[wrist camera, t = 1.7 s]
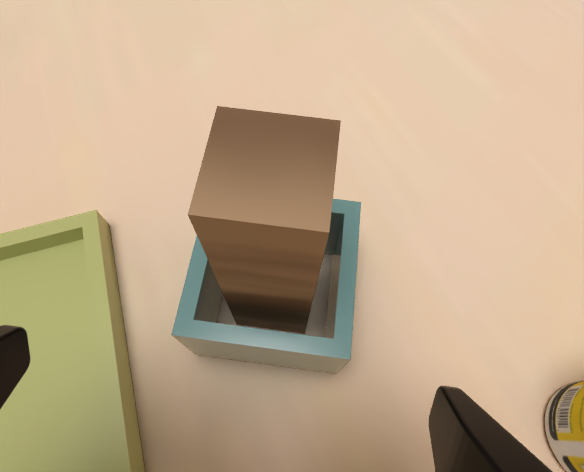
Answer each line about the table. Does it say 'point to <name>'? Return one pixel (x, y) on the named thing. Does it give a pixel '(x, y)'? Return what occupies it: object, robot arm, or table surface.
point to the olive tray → (67, 352)
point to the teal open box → (267, 343)
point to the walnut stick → (266, 212)
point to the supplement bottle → (567, 426)
